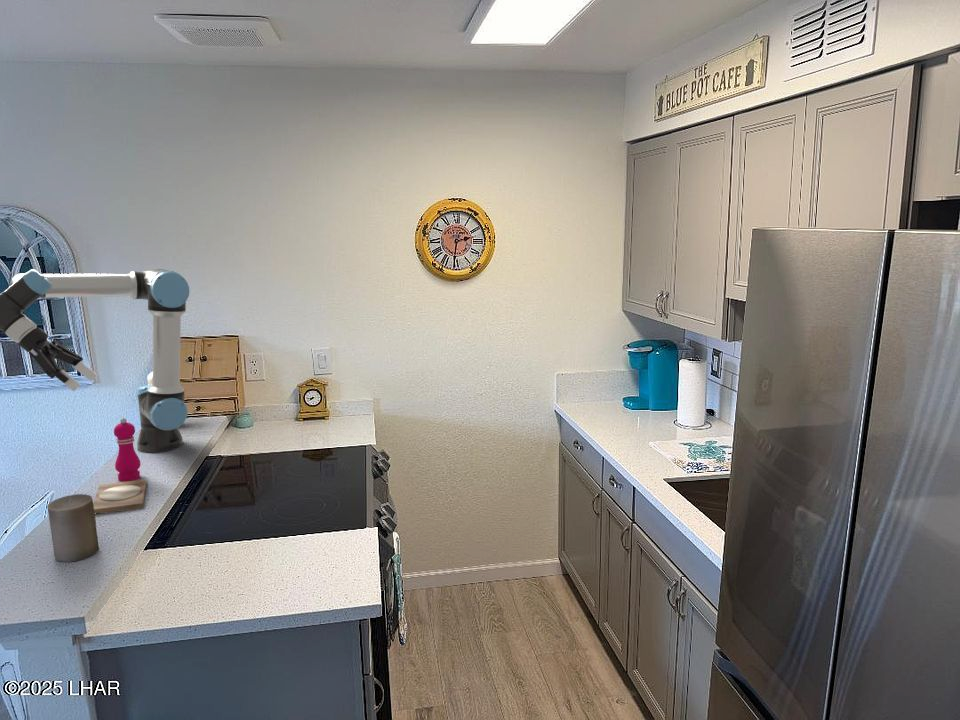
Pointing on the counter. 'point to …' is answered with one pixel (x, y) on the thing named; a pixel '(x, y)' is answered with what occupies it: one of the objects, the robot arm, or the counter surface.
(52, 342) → the robot arm
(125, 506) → the tan wooden flat board
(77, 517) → the pillar candle
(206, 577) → the counter surface
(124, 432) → the pepper mill
